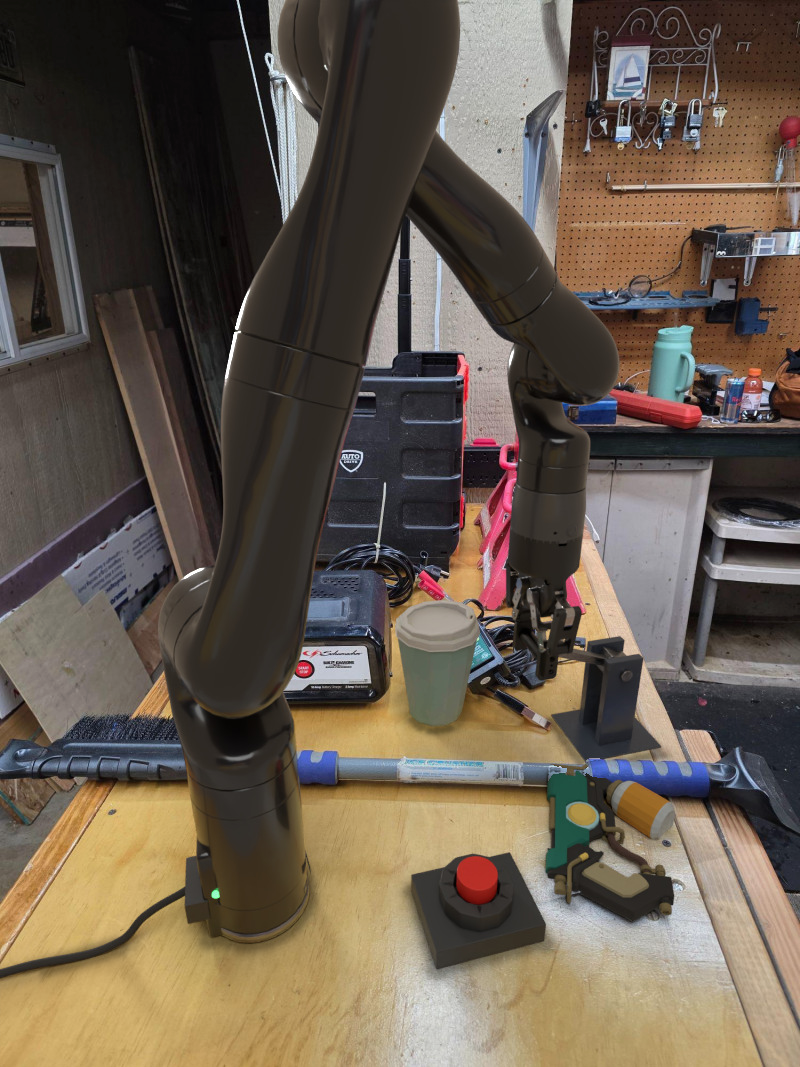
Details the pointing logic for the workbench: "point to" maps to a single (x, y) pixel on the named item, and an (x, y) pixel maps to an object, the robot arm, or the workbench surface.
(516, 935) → the control box
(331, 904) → the workbench surface
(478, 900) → the button
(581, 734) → the bracket
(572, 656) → the lever
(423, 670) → the disposable coffee cup
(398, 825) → the workbench surface
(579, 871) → the spray gun
